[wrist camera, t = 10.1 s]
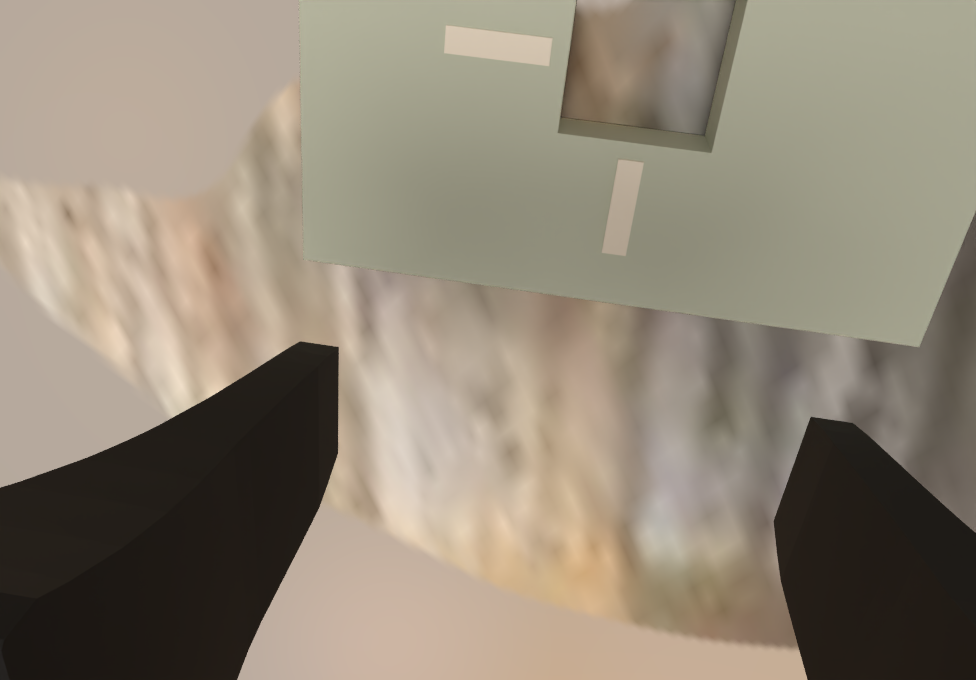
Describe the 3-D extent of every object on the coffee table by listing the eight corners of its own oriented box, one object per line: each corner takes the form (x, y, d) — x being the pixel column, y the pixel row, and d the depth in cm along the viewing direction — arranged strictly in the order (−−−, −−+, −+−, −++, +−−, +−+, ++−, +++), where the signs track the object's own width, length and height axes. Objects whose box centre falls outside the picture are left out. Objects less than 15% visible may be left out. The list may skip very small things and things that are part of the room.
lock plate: (1111, -216, 16) (1158, -225, 15) (900, 319, 22) (920, 349, 21) (316, -296, 17) (291, -310, 16) (320, 238, 23) (302, 261, 22)
